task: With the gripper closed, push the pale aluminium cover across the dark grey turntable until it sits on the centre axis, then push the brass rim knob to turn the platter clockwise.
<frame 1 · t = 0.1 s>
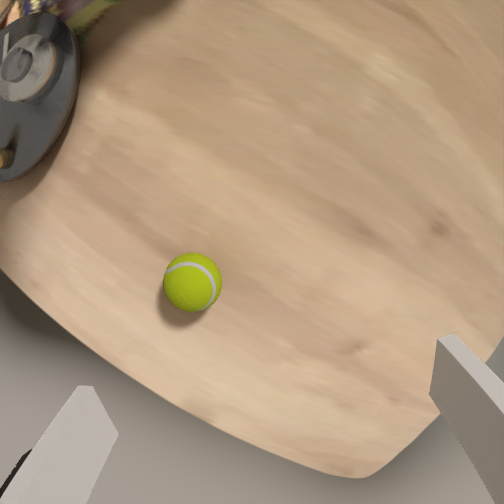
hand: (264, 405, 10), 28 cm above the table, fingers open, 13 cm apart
tennis ball: (198, 272, 39), on the table
cover: (38, 72, 28), point 4 cm above the table, touching turntable
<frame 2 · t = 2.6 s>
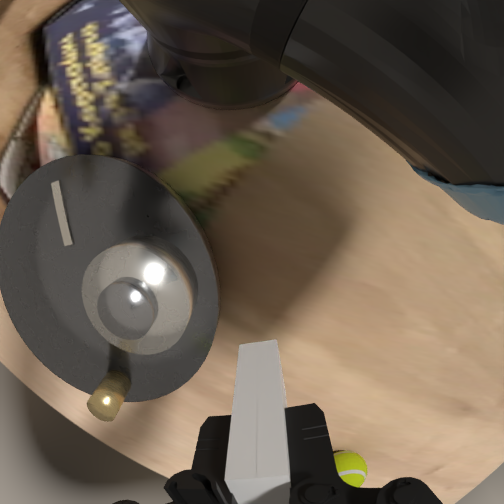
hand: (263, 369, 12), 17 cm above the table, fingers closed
turntable: (77, 301, 25), point 5 cm above the table, hinge at 0.0°, touching cover
tennis ball: (338, 454, 37), on the table
cover: (148, 285, 26), point 4 cm above the table, touching turntable
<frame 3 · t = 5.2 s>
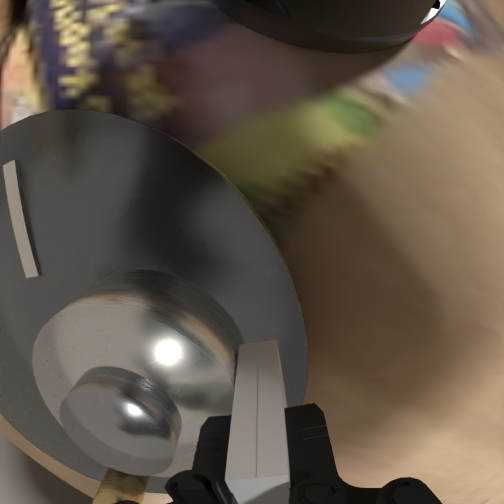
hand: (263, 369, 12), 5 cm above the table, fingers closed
turntable: (53, 374, 13), point 5 cm above the table, hinge at 0.0°
cover: (154, 358, 14), point 4 cm above the table
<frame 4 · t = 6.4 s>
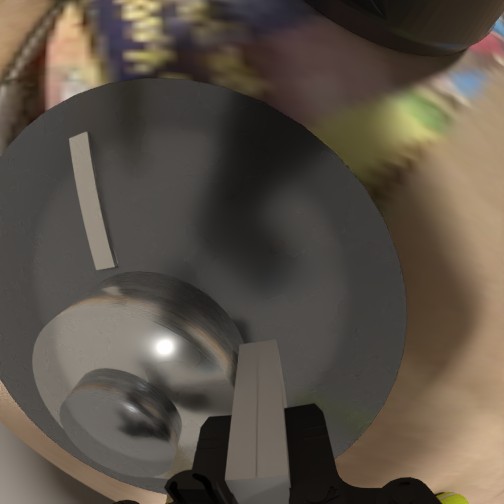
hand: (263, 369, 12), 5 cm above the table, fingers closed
turntable: (129, 380, 13), point 5 cm above the table, hinge at 0.0°, touching cover
tennis ball: (435, 496, 24), on the table
cover: (154, 359, 14), point 4 cm above the table, touching turntable
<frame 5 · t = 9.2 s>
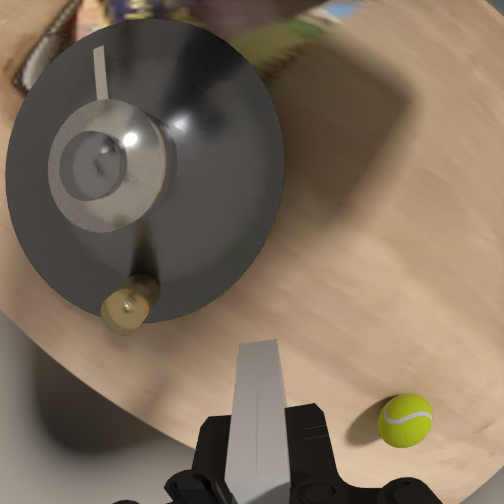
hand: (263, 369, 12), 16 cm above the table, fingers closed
turntable: (105, 169, 21), point 5 cm above the table, hinge at 0.0°, touching cover
tennis ball: (396, 402, 32), on the table
cover: (122, 165, 22), point 4 cm above the table, touching turntable
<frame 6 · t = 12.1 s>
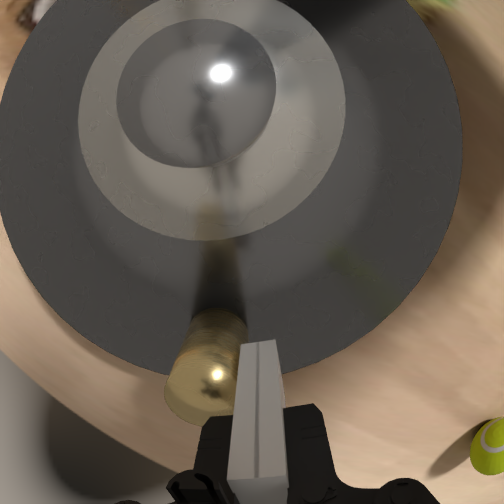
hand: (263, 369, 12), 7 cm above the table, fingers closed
turntable: (193, 119, 11), point 5 cm above the table, hinge at -6.4°, touching cover, gripper
tennis ball: (483, 426, 23), on the table
cover: (217, 119, 13), point 4 cm above the table, touching turntable
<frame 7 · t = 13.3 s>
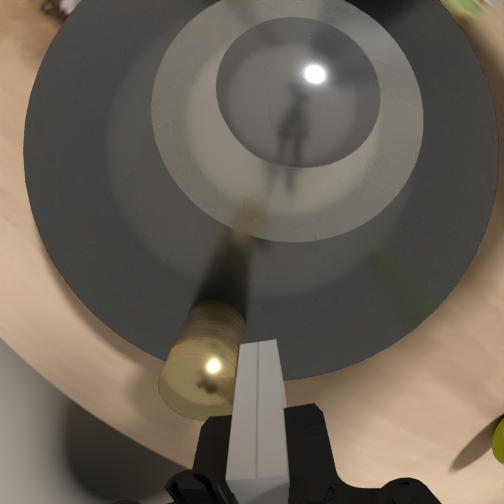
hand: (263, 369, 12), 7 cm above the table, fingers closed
turntable: (266, 112, 11), point 5 cm above the table, hinge at -23.9°, touching cover, gripper
tennis ball: (503, 419, 23), on the table
cover: (283, 120, 13), point 4 cm above the table, touching turntable
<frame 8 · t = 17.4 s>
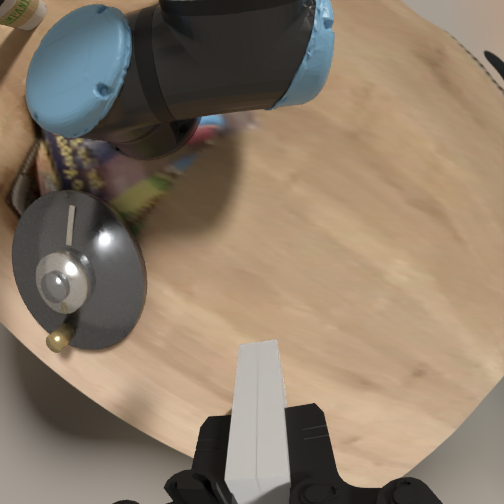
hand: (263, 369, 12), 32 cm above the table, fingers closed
turntable: (62, 278, 41), point 5 cm above the table, hinge at -23.9°, touching cover
coffee cup: (35, 17, 34), on the table
cover: (71, 276, 42), point 4 cm above the table, touching turntable
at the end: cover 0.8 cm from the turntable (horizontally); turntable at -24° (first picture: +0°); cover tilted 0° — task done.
